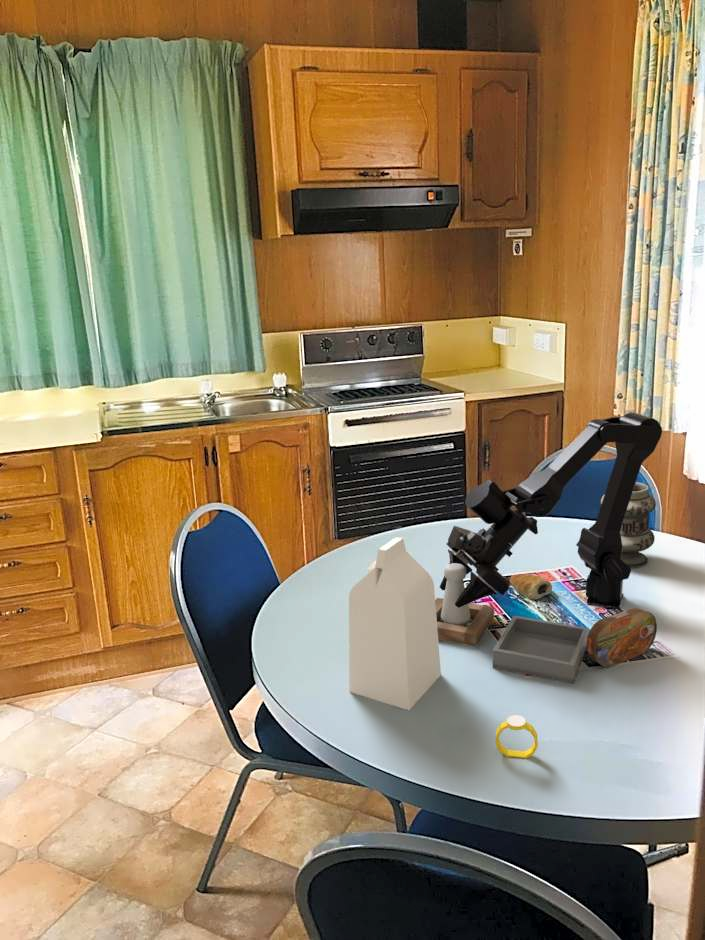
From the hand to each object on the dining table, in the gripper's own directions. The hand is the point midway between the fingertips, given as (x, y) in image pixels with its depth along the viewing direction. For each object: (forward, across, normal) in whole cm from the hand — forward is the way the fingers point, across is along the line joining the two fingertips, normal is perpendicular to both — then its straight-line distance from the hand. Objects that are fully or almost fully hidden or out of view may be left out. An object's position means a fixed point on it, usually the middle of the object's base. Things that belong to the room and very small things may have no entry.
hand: (448, 597), depth 149 cm
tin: (-13, +20, +22) cm, 33 cm away
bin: (-4, +16, +13) cm, 21 cm away
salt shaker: (+4, 0, +6) cm, 7 cm away
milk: (+16, +15, -6) cm, 23 cm away
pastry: (-11, -10, +21) cm, 25 cm away
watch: (+8, +39, +1) cm, 40 cm away
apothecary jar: (-31, -17, +41) cm, 54 cm away
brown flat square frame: (+4, 0, +6) cm, 7 cm away
